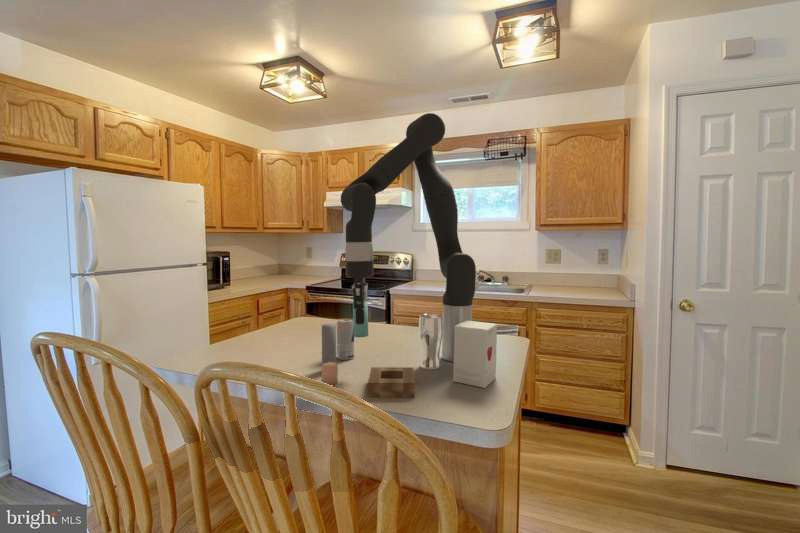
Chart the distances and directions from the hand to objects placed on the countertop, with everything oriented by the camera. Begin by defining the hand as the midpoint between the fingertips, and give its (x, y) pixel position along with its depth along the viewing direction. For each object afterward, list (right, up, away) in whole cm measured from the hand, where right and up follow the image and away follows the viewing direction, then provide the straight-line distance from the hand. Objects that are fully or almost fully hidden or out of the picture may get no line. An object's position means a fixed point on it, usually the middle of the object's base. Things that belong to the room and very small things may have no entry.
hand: (360, 321), depth 103 cm
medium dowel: (0, -4, 0) cm, 4 cm away
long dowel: (-9, -14, +4) cm, 18 cm away
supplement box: (+31, -15, -3) cm, 34 cm away
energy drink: (-6, -14, +16) cm, 22 cm away
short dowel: (-7, -15, -6) cm, 18 cm away
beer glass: (+20, -15, +8) cm, 26 cm away
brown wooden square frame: (+9, -15, -9) cm, 20 cm away
